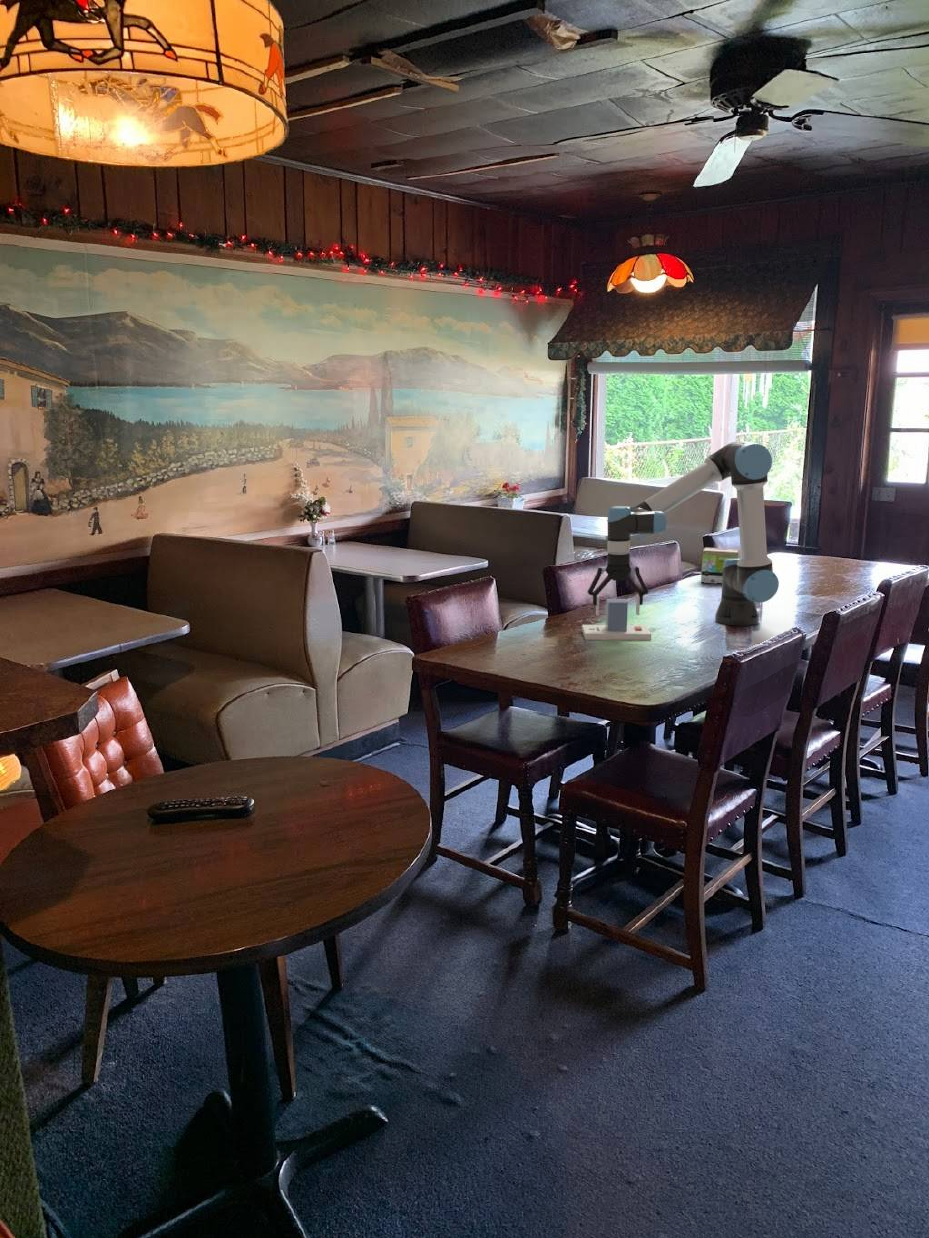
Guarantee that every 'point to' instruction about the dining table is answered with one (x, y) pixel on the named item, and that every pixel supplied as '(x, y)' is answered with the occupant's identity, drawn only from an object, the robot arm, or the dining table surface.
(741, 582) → the robot arm
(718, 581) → the tea box
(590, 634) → the socket plate
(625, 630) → the plug
